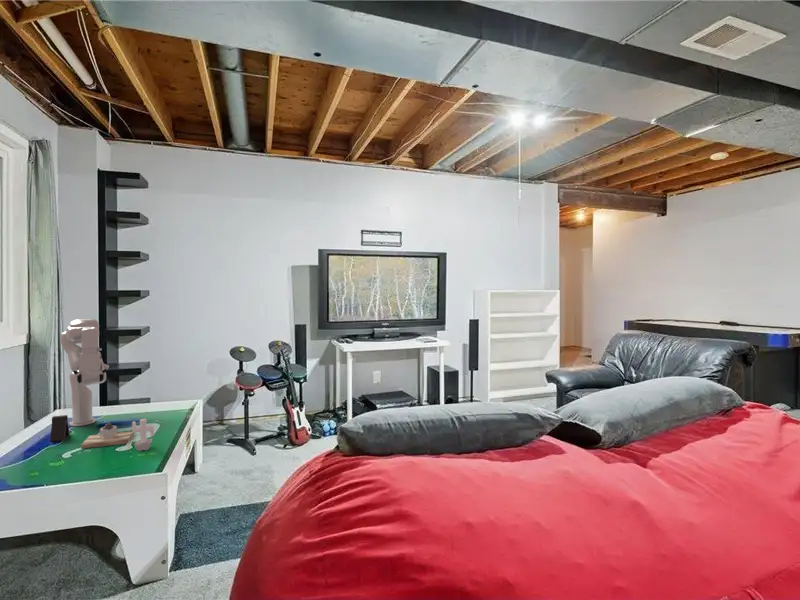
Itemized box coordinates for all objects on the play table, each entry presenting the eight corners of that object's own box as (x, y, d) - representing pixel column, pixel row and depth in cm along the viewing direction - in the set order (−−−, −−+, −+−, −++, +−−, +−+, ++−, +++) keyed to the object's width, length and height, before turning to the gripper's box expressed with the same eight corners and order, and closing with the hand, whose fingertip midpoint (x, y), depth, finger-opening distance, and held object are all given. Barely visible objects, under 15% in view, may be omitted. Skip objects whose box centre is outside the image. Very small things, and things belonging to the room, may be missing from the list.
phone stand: (63, 440, 225) (63, 417, 225) (49, 441, 223) (49, 419, 222) (70, 434, 233) (69, 413, 233) (56, 436, 231) (56, 414, 231)
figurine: (154, 450, 212) (153, 420, 212) (131, 453, 208) (131, 422, 208) (154, 445, 219) (154, 416, 218) (133, 448, 215) (132, 418, 214)
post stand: (89, 439, 227) (89, 422, 227) (133, 434, 234) (133, 418, 234) (81, 448, 214) (81, 430, 214) (127, 443, 221) (127, 426, 221)
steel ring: (102, 435, 226) (102, 426, 226) (118, 434, 229) (117, 425, 229) (98, 440, 220) (98, 430, 220) (114, 438, 222) (114, 429, 222)
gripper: (110, 349, 242) (111, 379, 242) (73, 350, 235) (74, 381, 236) (106, 351, 235) (107, 382, 235) (68, 352, 228) (69, 384, 229)
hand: (90, 381), depth 236 cm, fingers open, 9 cm apart
